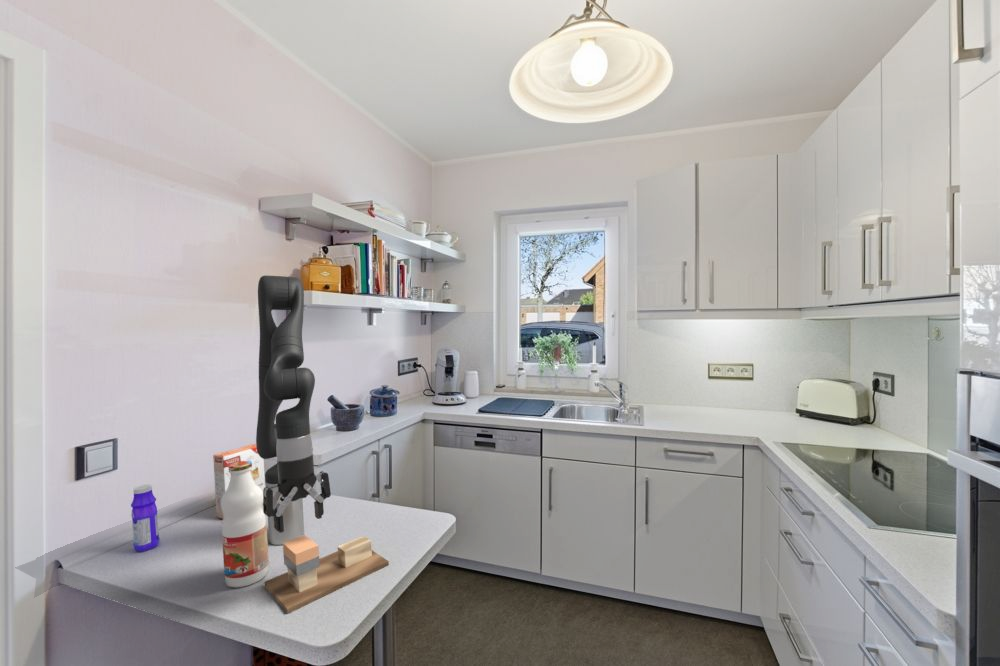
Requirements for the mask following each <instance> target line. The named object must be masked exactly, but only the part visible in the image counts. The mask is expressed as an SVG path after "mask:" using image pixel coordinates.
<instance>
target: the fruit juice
mask: <svg viewBox="0 0 1000 666" xmlns="http://www.w3.org/2000/svg"><path fill="white" fill-rule="evenodd" d="M251 469H252V462H251V461H240V462H235V463H232V464H230V465H229V473H230V474H231V477H230V482H229V486H228V488H227V490H226V492H225V493H224V495H223V496H222V499H221V510H222V512H223V514H224V518H223V519H222V521H221V542H222V543H221V544H222V556H223V568H224V569H223V570H224V580H225V584H226V586H228V587H230V588H242V587H247V586H250V585H253V584H255V583H257V582H260V581H261V580H262V579H264V578H265V577H266V576H267V575H268V573H269V570H270V560H269V559H270V557H269V544H268V543H269V540H268V529H267V526H268V525H267V518H266V516H267V515H265V514H264V513H263V490H262V489H261V488H260V487H259V486H258V485H257V484H256V483H255V481H254V479H253V477H252V474H251Z"/></svg>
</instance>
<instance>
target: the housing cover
mask: <svg viewBox="0 0 1000 666" xmlns="http://www.w3.org/2000/svg"><path fill="white" fill-rule="evenodd" d="M282 552H283V554H282V555H284V554H285V555H286V556H287V557H288V558H289V559H290V560H291V561H292V562H293V563H294V564H295V565H299V564H301V563H304V562H306V561H309V560H311V559H313V558H316V557H318V556H319V557H320V555H319V553H320V552H319V544H317V543H316V542H314V541H313V540H312V539H311V538H310V537H307V535H306V534H304V535H303V536H300V537H297V538H295V539H292V540H289V541H287V542H284V543H283V544H282Z"/></svg>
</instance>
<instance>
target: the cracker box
mask: <svg viewBox="0 0 1000 666" xmlns="http://www.w3.org/2000/svg"><path fill="white" fill-rule="evenodd" d="M212 458H213V459H212V460H213V476H214V492H215V493H214V494H215V496H214V497H215V511H216V512H215V513H216V518H218V519H222V520H223V518H224V514H223V512H222V510H221V499H222V496H223V495H224V493H225V492H226V490H227V488H228V486H229V482H230V477H231V474H230V473H229V465H230V464H232V463H235V462H240V461H251V462H252V469H251V474H252V477H253V479H254V481H255V483H256V484H257V485H258V486H259V487H260V488H261V489H262V490H263V489H264V488H265V487H266V484H265V459H263V458H261V457H260V456H259V454H258V452H257V447H256V443H252V444H249V445H245V446H242V447H237V448H235V449H231V450H227V451H223V452H220V453H215V454H213V457H212Z"/></svg>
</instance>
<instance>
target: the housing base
mask: <svg viewBox="0 0 1000 666" xmlns="http://www.w3.org/2000/svg"><path fill="white" fill-rule="evenodd" d="M319 559H320V555H319V556H318V557H316V558H313V559H311V560H309V561H306V562H304V563H301V564H299V565H295V564H294V563H293V562H292V561H291V560H290V559H289V558H288V557H287V556H286V555H285V554H283V565H284V566H285V567H286V568H287V567H288V568H289V569H290V570H291V571H292V572H293V573H294V574H295V575H296V576H297V577H298V576H300V575H302V574H304V573H307V572H309V571H311V570H314V569H316V568H318V567H320V566H319Z"/></svg>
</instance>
